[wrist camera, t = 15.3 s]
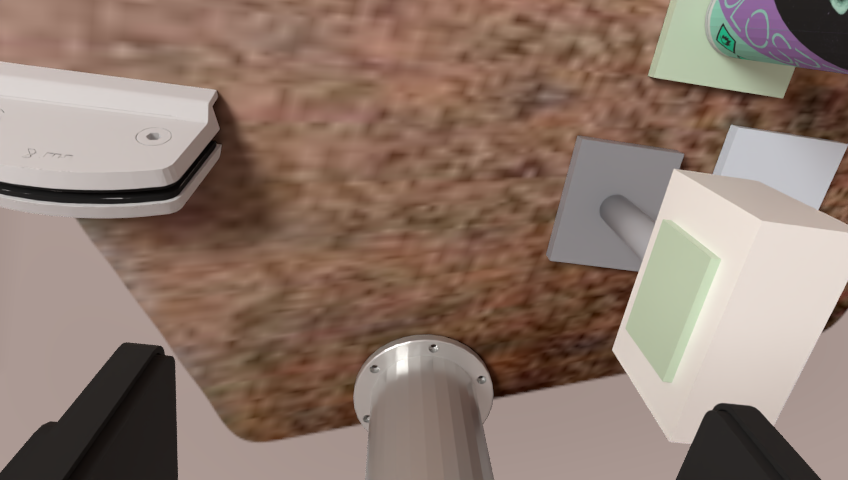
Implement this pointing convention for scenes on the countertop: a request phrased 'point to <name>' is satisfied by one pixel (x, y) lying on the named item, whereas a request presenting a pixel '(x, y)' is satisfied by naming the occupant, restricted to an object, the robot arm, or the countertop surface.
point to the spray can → (781, 32)
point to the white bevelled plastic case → (101, 143)
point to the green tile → (709, 57)
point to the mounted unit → (702, 277)
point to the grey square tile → (781, 161)
